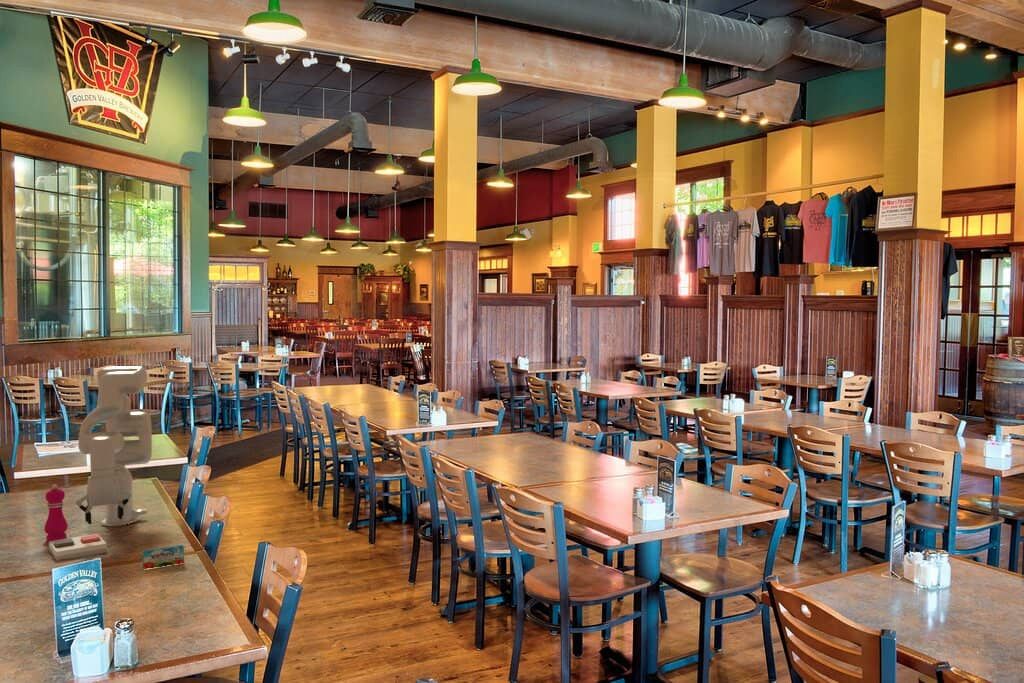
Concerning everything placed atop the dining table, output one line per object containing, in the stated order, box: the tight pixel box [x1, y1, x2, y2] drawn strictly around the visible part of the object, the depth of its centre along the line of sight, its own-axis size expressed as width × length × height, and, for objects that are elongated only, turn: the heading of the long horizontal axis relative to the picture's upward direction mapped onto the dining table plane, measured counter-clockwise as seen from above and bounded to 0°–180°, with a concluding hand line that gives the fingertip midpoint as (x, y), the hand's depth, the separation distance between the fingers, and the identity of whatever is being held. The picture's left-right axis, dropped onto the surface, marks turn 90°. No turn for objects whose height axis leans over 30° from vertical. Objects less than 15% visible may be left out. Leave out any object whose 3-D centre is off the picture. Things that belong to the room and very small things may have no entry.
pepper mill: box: [44, 483, 69, 543], centre depth 287 cm, size 7×7×20 cm
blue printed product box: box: [141, 544, 185, 570], centre depth 256 cm, size 12×2×6 cm, turn 120°
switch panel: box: [48, 533, 108, 561], centre depth 274 cm, size 15×15×3 cm
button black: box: [54, 537, 74, 548], centre depth 271 cm, size 5×5×2 cm
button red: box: [81, 533, 101, 544], centre depth 276 cm, size 5×5×2 cm
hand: (104, 520), depth 279 cm, fingers open, 9 cm apart
